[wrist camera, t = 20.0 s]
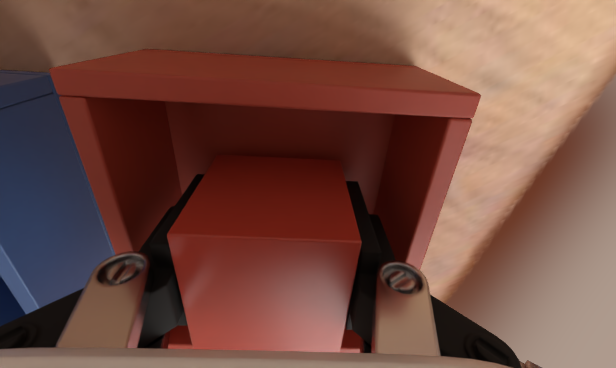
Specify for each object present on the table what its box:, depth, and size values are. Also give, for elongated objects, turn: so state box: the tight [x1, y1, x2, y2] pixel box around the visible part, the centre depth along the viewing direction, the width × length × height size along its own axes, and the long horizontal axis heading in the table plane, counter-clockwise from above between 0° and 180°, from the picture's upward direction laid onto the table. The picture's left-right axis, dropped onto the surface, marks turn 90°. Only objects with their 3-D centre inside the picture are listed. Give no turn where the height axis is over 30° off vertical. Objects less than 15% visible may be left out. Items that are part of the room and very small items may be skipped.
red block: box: [167, 155, 362, 352], centre depth 10 cm, size 4×4×4 cm
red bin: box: [49, 49, 481, 353], centre depth 11 cm, size 11×10×4 cm
